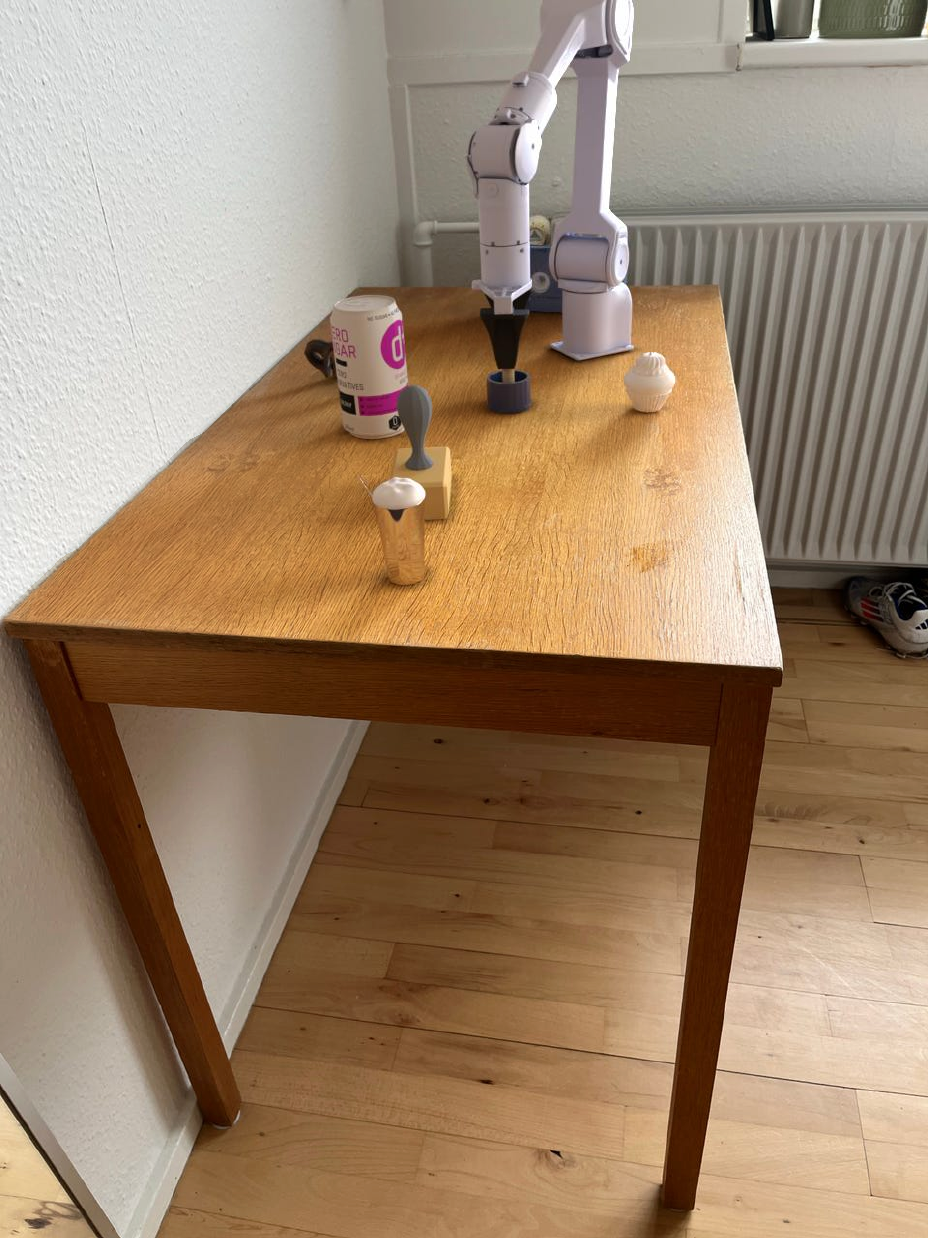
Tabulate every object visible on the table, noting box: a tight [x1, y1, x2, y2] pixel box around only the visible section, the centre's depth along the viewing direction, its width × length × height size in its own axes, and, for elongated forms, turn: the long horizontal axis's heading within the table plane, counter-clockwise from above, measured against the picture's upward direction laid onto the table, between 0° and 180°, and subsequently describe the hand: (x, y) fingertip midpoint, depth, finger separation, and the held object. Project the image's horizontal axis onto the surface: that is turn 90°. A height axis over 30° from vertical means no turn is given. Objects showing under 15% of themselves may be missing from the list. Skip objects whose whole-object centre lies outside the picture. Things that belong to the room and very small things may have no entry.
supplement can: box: [329, 294, 409, 440], centre depth 112 cm, size 8×8×15 cm
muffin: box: [623, 351, 676, 414], centre depth 115 cm, size 6×6×7 cm
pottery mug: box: [303, 338, 337, 379], centre depth 129 cm, size 12×10×8 cm
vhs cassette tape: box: [524, 243, 628, 313], centre depth 153 cm, size 18×3×10 cm, turn 69°
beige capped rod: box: [501, 369, 515, 383], centre depth 118 cm, size 3×3×8 cm
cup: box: [485, 369, 532, 415], centre depth 119 cm, size 5×5×4 cm
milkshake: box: [359, 475, 426, 586], centre depth 83 cm, size 4×5×10 cm
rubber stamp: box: [389, 384, 453, 521], centre depth 96 cm, size 10×6×12 cm, turn 179°
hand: (507, 358), depth 117 cm, fingers open, 7 cm apart
